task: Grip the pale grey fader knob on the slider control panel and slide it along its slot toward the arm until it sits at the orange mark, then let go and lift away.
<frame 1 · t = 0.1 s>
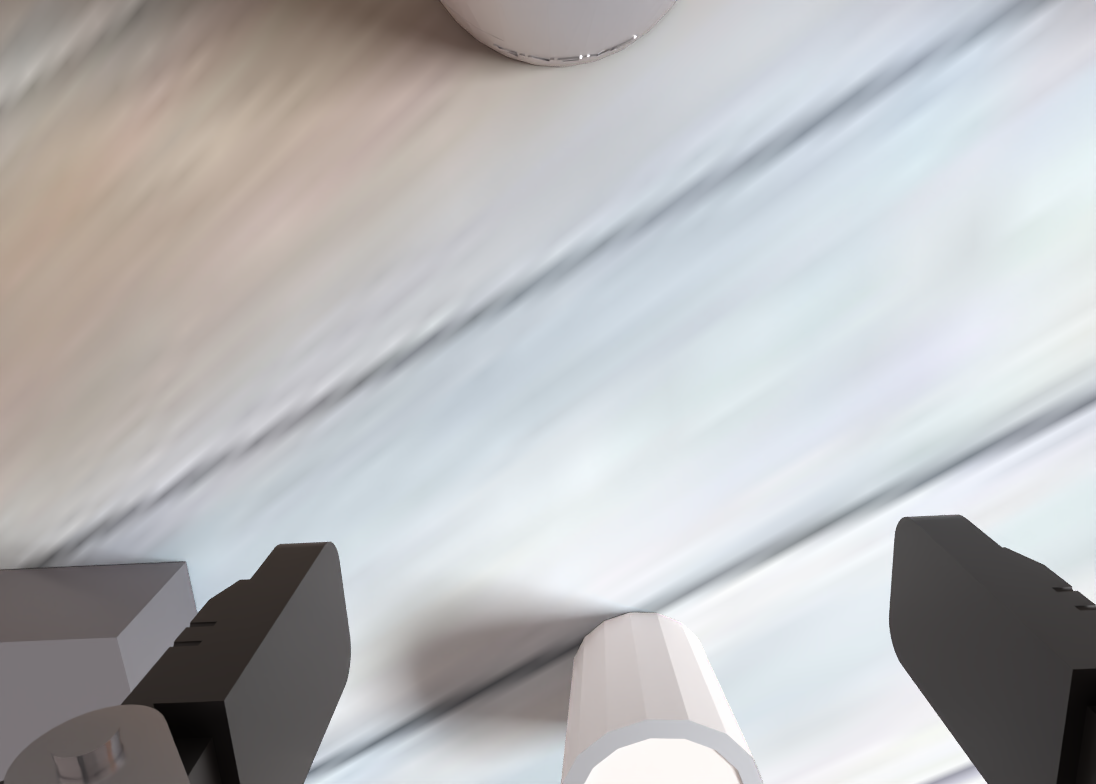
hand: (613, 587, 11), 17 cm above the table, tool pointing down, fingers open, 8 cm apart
white cylinder: (639, 666, 32), on the table
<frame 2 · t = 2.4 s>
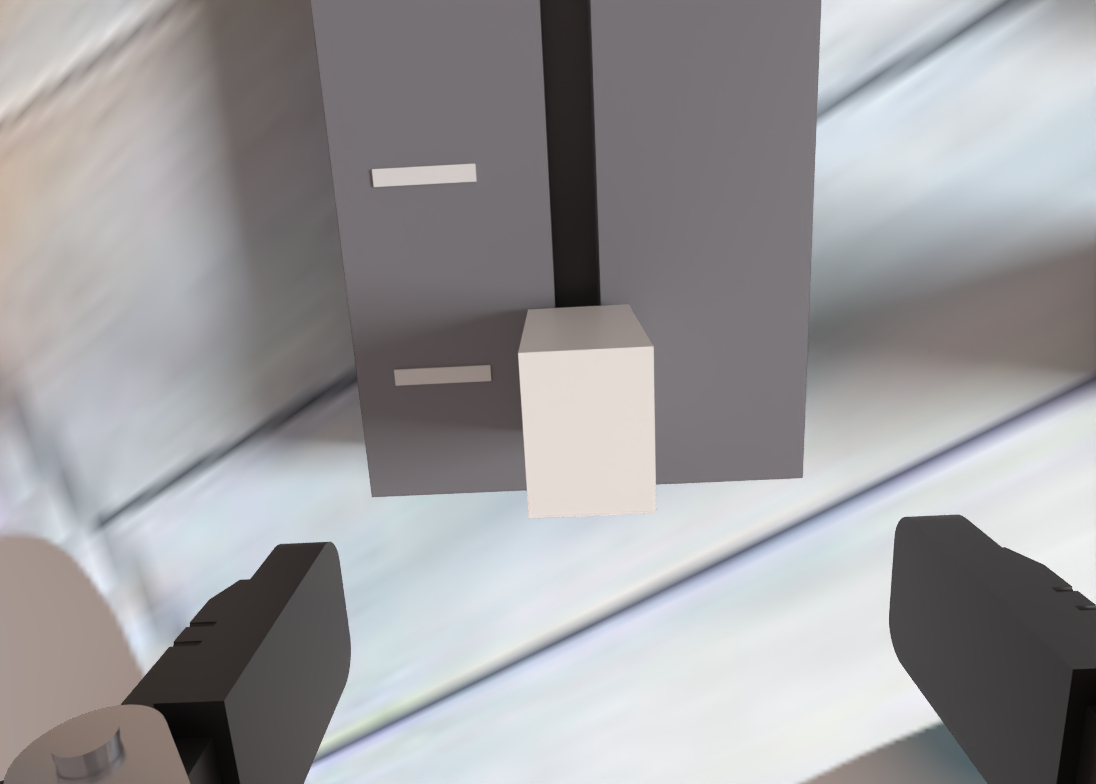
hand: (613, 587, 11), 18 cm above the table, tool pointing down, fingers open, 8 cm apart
slider control panel: (567, 125, 26), on the table
fader knob: (583, 389, 21), point 7 cm above the table, slide at 0.0 cm
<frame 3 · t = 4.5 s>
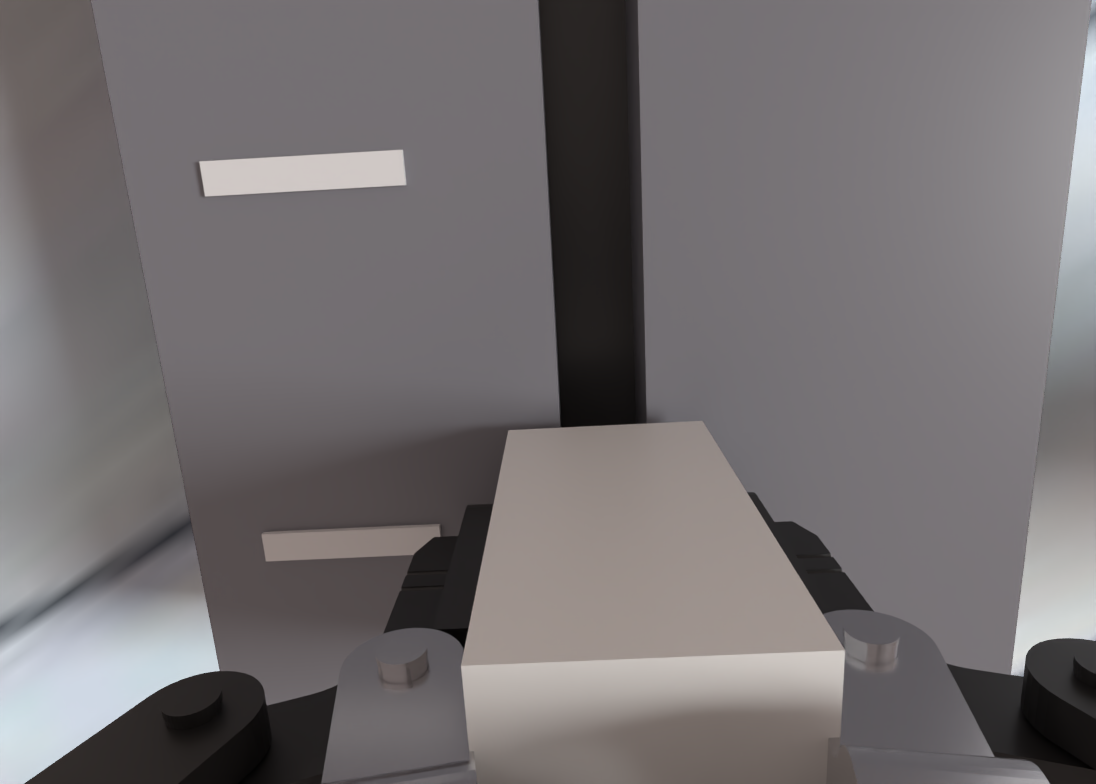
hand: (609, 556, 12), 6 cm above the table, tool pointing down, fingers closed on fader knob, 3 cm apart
slider control panel: (579, 90, 16), on the table
fader knob: (619, 610, 10), point 8 cm above the table, slide at 0.0 cm, touching gripper
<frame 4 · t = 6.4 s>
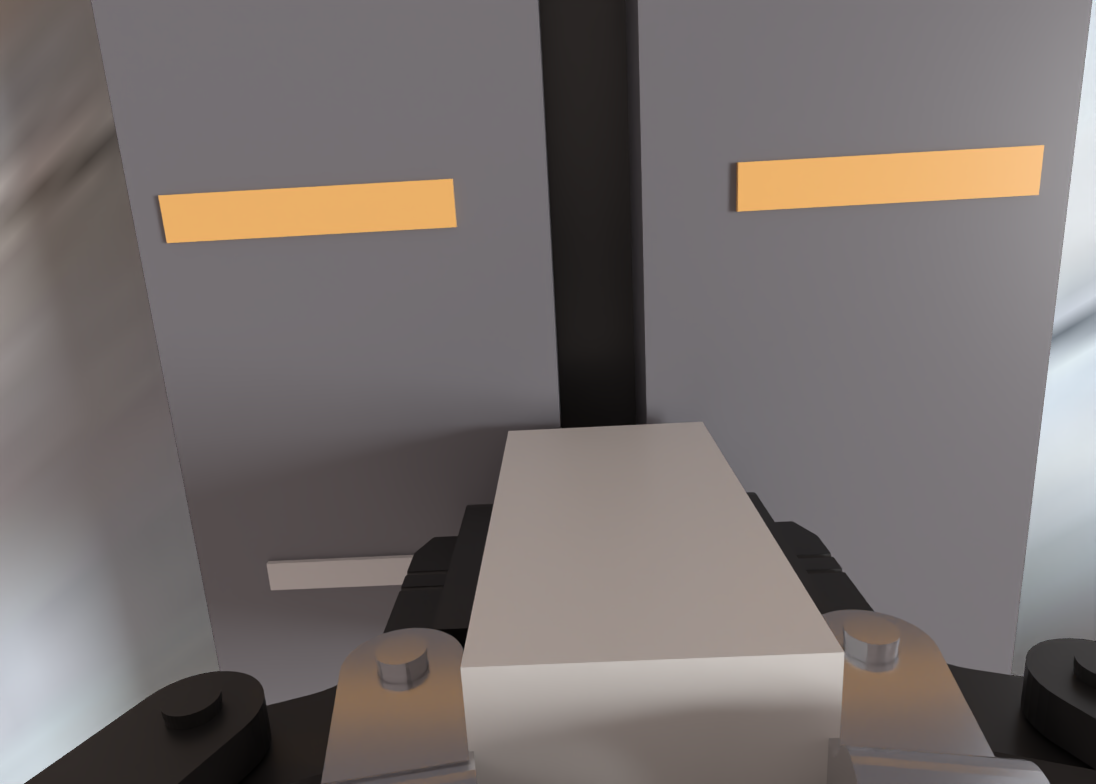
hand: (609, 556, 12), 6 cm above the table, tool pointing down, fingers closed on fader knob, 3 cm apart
slider control panel: (592, 396, 17), on the table
fader knob: (619, 611, 10), point 8 cm above the table, slide at 6.5 cm, touching gripper
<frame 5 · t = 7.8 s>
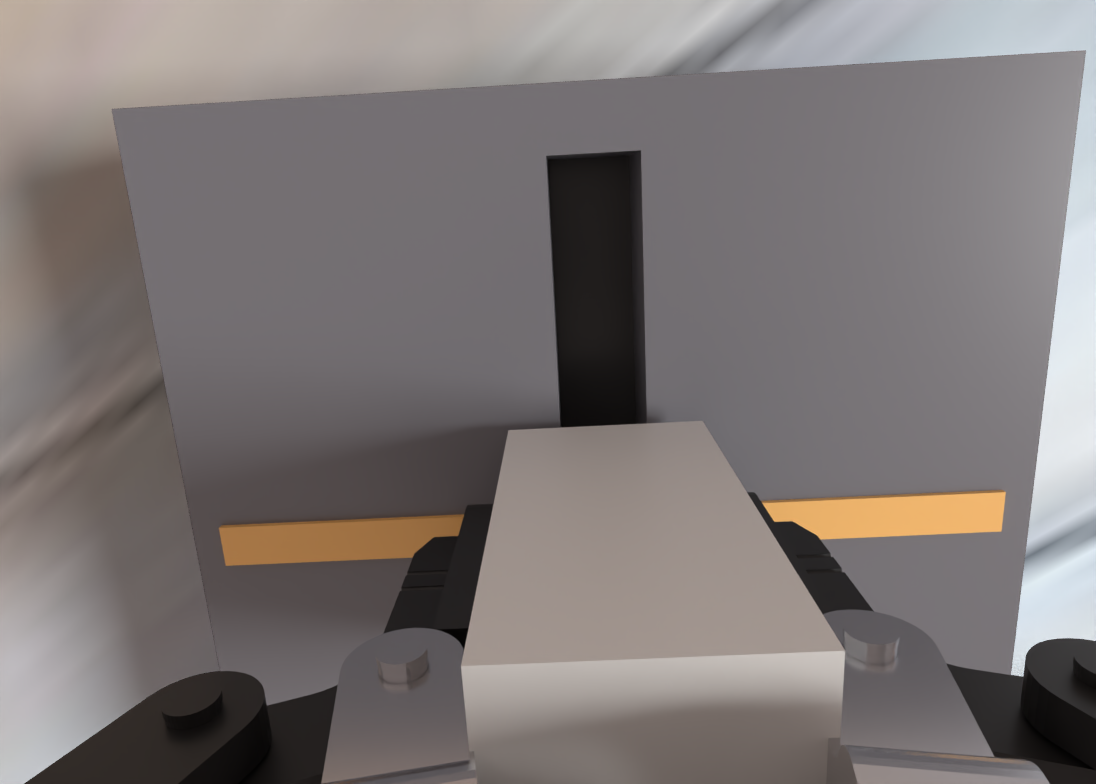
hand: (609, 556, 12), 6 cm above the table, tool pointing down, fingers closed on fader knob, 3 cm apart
slider control panel: (600, 606, 19), on the table
fader knob: (619, 610, 10), point 7 cm above the table, slide at 12.0 cm, touching gripper
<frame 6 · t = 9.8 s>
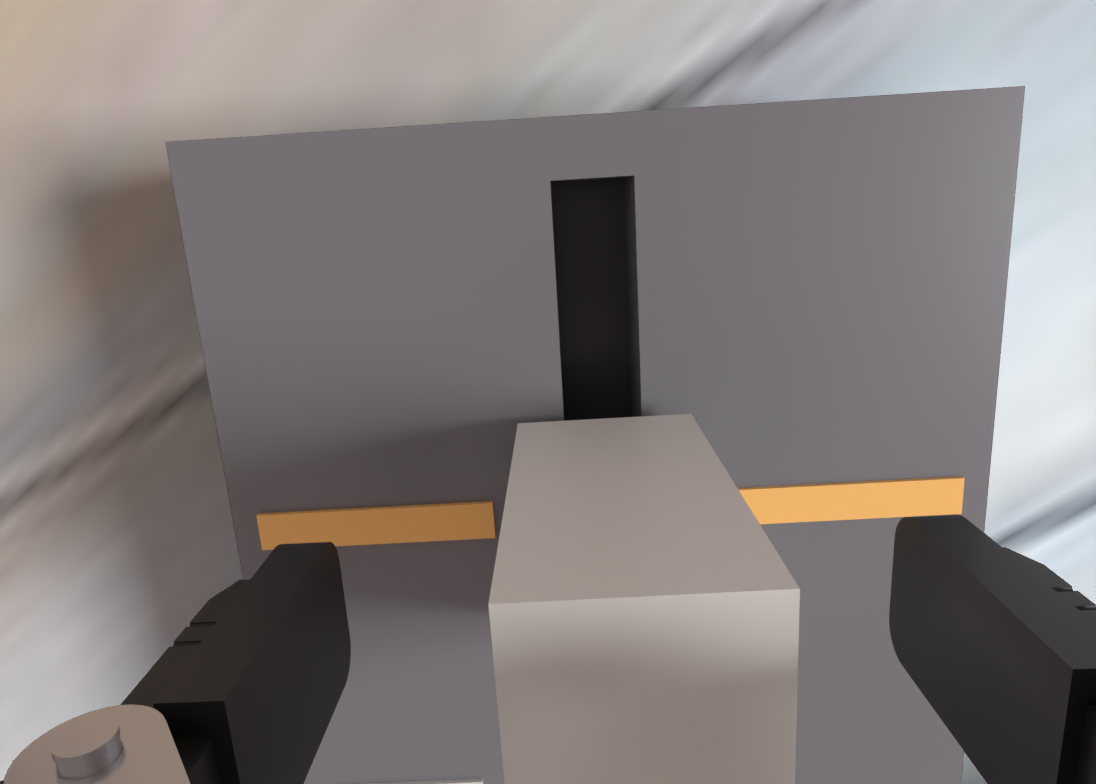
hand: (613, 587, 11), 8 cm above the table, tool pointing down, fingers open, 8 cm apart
slider control panel: (601, 593, 20), on the table
fader knob: (617, 579, 12), point 8 cm above the table, slide at 12.0 cm
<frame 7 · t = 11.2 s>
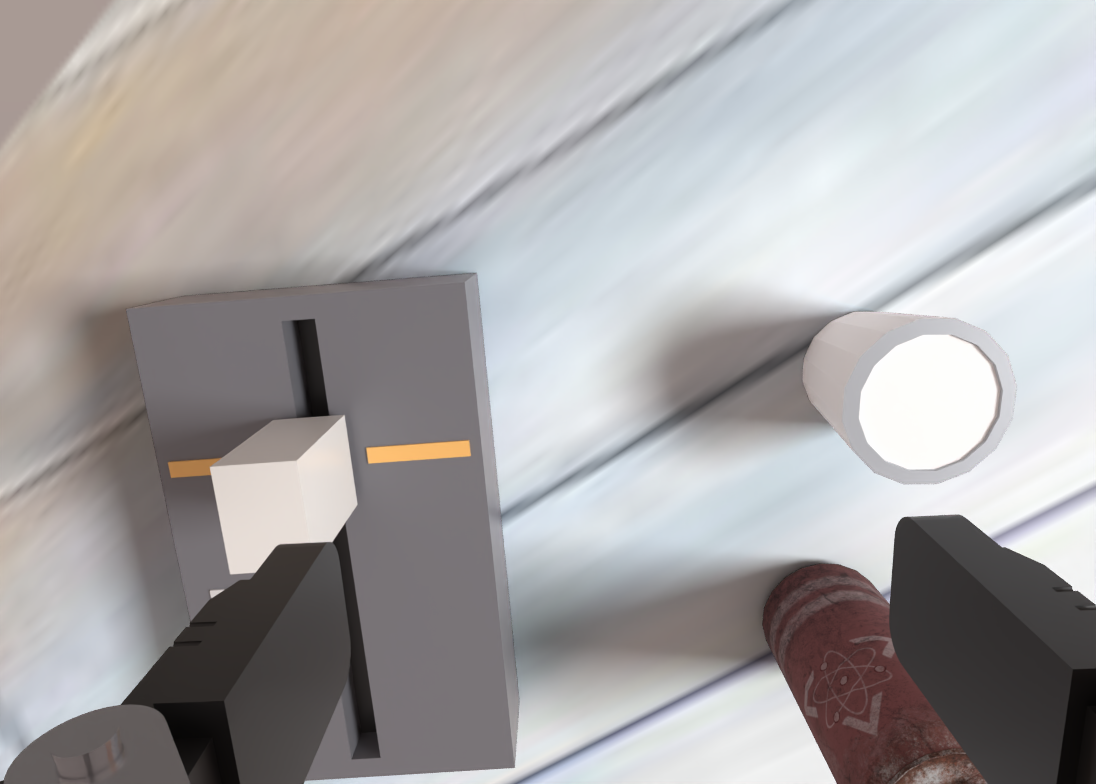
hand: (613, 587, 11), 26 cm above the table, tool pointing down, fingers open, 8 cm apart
white cylinder: (858, 367, 37), on the table
slider control panel: (362, 511, 38), on the table
can: (816, 612, 40), on the table
fader knob: (300, 479, 30), point 8 cm above the table, slide at 12.0 cm
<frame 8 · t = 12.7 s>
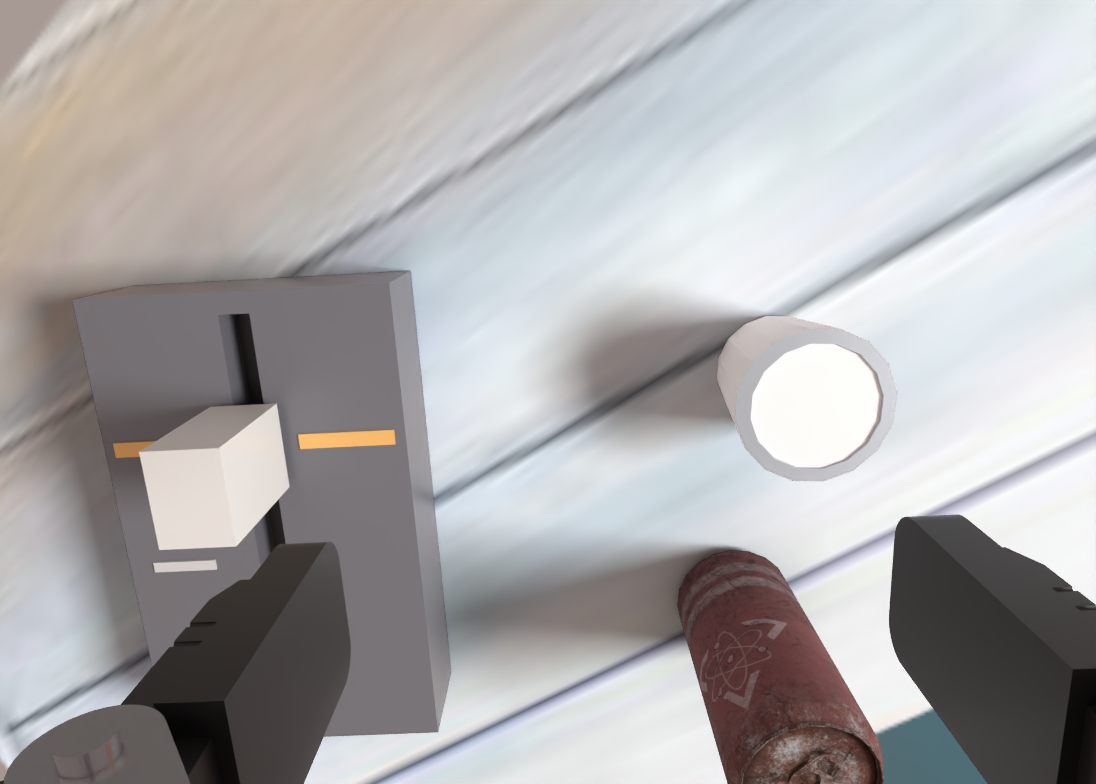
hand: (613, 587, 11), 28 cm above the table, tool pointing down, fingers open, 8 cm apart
white cylinder: (770, 368, 39), on the table
slider control panel: (303, 492, 41), on the table
can: (729, 596, 42), on the table
fader knob: (232, 462, 32), point 8 cm above the table, slide at 12.0 cm
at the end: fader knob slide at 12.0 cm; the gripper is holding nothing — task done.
